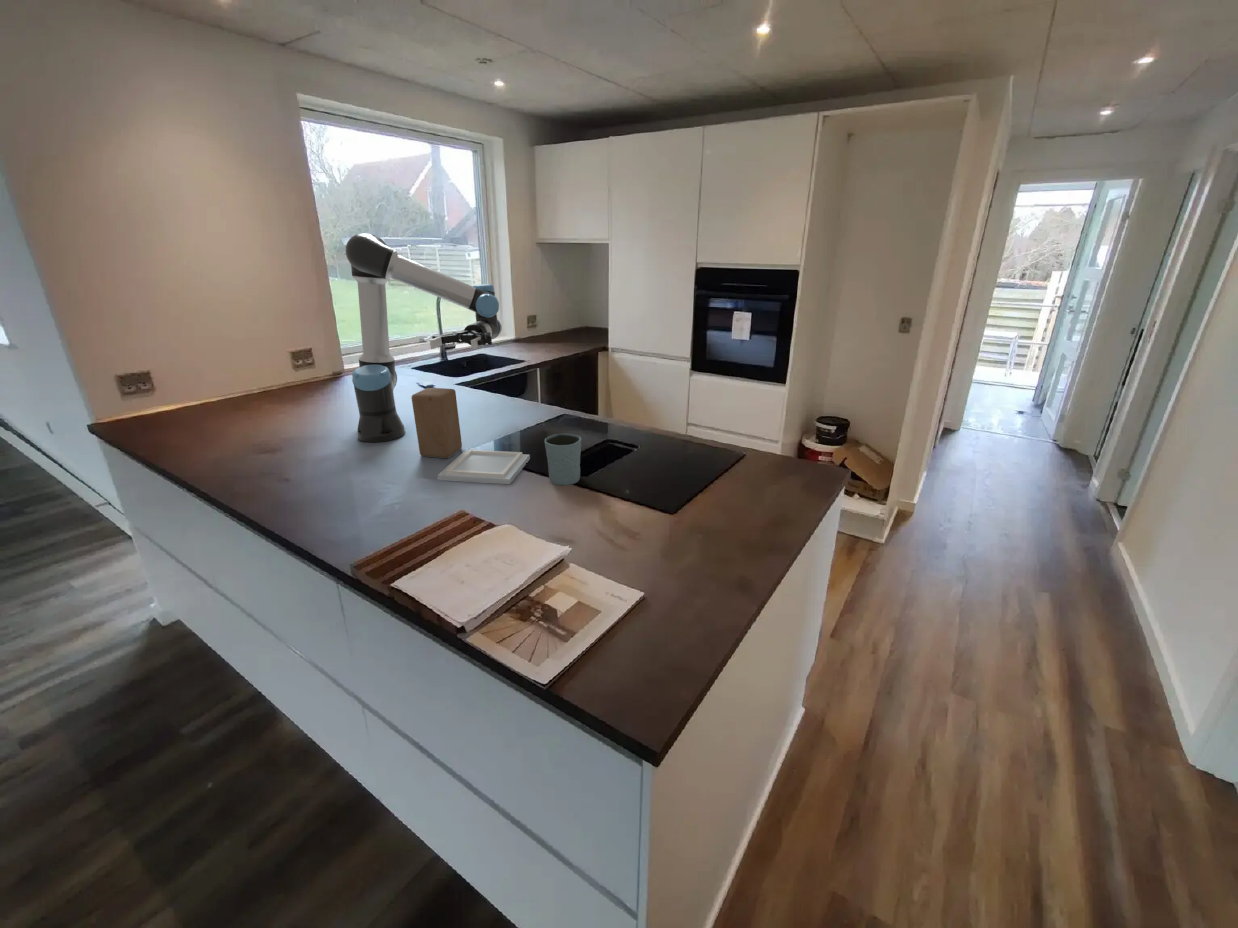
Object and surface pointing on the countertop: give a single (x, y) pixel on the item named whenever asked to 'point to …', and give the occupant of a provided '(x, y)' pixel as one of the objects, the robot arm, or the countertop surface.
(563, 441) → the teal cup
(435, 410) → the wooden block
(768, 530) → the countertop surface
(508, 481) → the baseplate
